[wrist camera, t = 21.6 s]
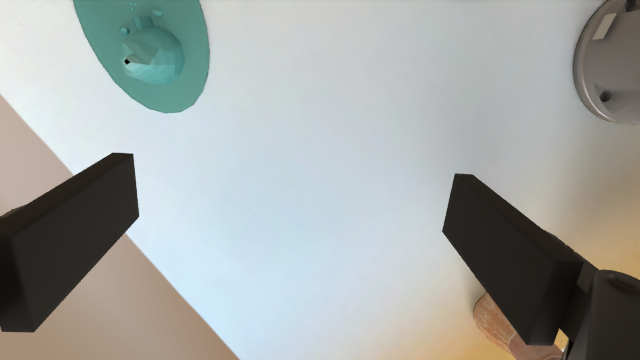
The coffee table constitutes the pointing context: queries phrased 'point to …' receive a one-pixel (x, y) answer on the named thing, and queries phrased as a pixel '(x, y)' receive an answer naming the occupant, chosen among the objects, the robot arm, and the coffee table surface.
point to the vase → (509, 333)
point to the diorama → (150, 48)
